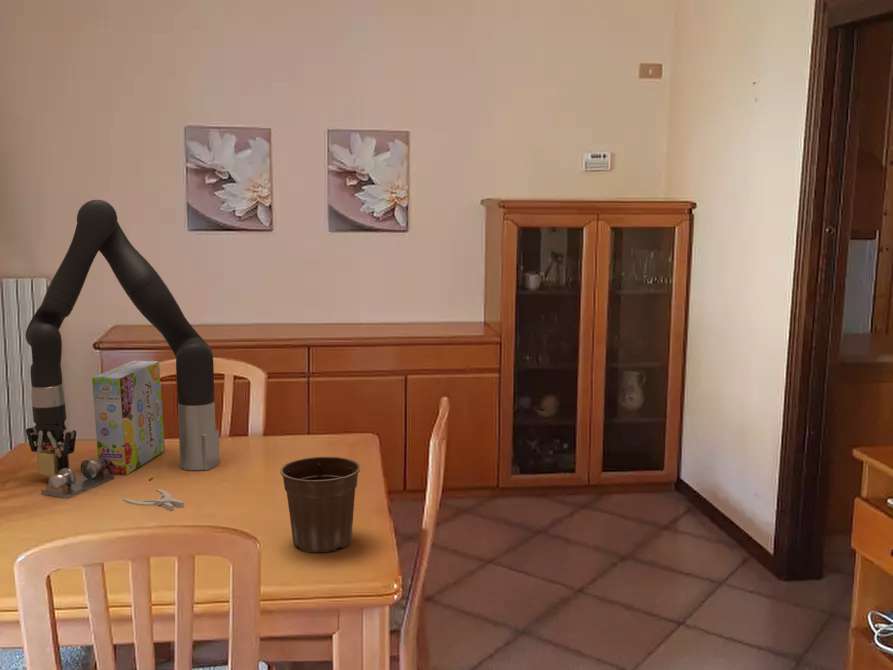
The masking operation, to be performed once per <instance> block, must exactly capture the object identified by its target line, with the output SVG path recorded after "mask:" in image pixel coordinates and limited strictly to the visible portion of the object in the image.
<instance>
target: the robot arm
mask: <svg viewBox="0 0 893 670" xmlns="http://www.w3.org/2000/svg"><path fill="white" fill-rule="evenodd" d="M117 214H118V213H117V212H116V209H115V208H114V206H113V205H112V204H111V203H110V202H108V201H106V200H103V199H92V200H89V201H86V202H85V203H84V204H82V205H81V206H80V208H79V209H78V212H77V215H76V226H75V231H74V234H73V237H72V240H71V242H70V245H69V246H68V247H69V248H68V250H67V252H66V254H65V255H64V258H63V260H62V261H61V263H60V265H59V267H58V268H57V270H56V272H55V274H54V276H53V278H52V280H51V282H50V284H49V286H48V288H47V291H46V293H45V295H44V297H43V299H42V302H41V305H39V307H38V308H37V310H36V312H35V313H34V315H33V316H32V317H31V320H30V322H29V323H28V326H27V328H26V331H25V340H26V342H27V344H28V345H29V346H30V348H31V359H32V363H31V365H30V371H29V372H30V384H31V391H30V392H31V394H30V395H31V396H30V398H31V409H32V421H33V423H34V424H35V425H34V426H31V427H28V428H26V429H25V433H26V437H27V440H28V444H29V447H30V448H29V449H30V451H31V452H32V453H33V452H35V453H37V452H39V451H42V450H45V449H48V448H45V444H48V443H50V444H52V446H53V448H54V449H56V452H57V455H58V467H59V471H60V470H61V469H63V468H68V458H67V456H68V457H69V455H70V454H73V453H74V452H75V449H76V448H75V447H76V438H77V431H76V430H75V429H74V430H73V429H72V430H69V429H67V426H66V424H65V422H66V420H67V409H66V397H65V396H66V394H65V389H64V384H63V373H62V366H61V363H62V353H63V352H62V349H63V339H62V335H61V332H60V328H61V326H62V324H63V322H64V321H65V319H66V318H67V317H69V316H70V315H71V313H72V311H73V309H74V307H75V305H76V303H77V301H78V298H79V296H80V294H81V292H82V289H83V287H84V285H85V282H86V279H87V276H88V274H89V272H90V269H91V267H92V265H93V263H94V261H95V259H96V256H97V255H98V252H100V253H101V255H102V256H103V257H104V259H105V261H106V262H107V263H108V265H109V266H110V269H111V270H112V272H113V274H114V276H115V278H116V279H117V281H118V283H119V284H120V286H121V288H122V289H123V291H124V292H125V294H126V295H127V297H128V298H129V300H130V301H131V302H132V304H133V305H134V306H135V307H136V309H137V310H138V311H139V312H140V314H142V316H143V317H144V318H145V319H146V320H147V321H148V322H149V323H150V324H151V325H152V326H153V327H154V328H156V330H157V331H158V332H159V333H160V334H161V335H162V337H163V338H164V339H165V340H166V343H167V344H168V346H169V347H170V349H171V351H172V353H173V354H174V356H175V369H176V370H175V371H176V375H175V376H176V394H177V395H176V396H177V406H178V407H177V410H178V415H177V416H178V436H179V437H178V439H179V441H178V442H179V462H180V463H179V466H180V469H183V470H186V471H208V470H210V469H212V468H214V467H216V466H219V465H220V464H221V463H220V461H221V460H220V433H219V432H220V431H219V429H217V428H216V408H215V407H216V406H215V374H214V373H215V372H214V371H215V367H214V353H213V350H212V348H211V346H210V344H208V343H207V342H206V341H205V340H204V339H203V338H202V336H201V335H200V334H199V333H198V332H197V331H196V329H194V327H193V326H192V324H191V323H190V322H189V321H188V320H187V318H186V316H185V315H184V312H183V311H182V309H181V308H180V306H179V304H178V302H177V301H176V299H175V297H174V295H173V294H172V292H171V291H170V289H169V287H168V286H167V284H166V283H165V282H164V280H163V279H162V277H161V276H160V275H159V273H158V272H157V271H156V269H155V268H154V267H153V265H151V264H150V263H149V261H148V260H147V259H146V257H144V256H143V255H142V254H141V253H140V252H139V251H138V250H137V249H136V248H135V247H134V245H133V244H132V243H131V242H130V240H129V239H128V237H127V235H126V234H125V232H124V231H123V229H122V227H121V225H120V223H119V222H118V215H117ZM57 443H59V444H57ZM61 448H62V450H63V451H61Z"/></svg>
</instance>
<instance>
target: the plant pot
mask: <svg viewBox="0 0 893 670" xmlns="http://www.w3.org/2000/svg"><path fill="white" fill-rule="evenodd" d="M360 471H361V465H360V463H358V462H357V461H355V460H353V459H350V458H346V457H339V456H312V457H307V458H305V457H304V458H302V459H297V460H296V459H295V460H292V461H290V462H287V463H286V464H283V466H281V468H280V475H281V476H282V479H283V485H284V486H283V487H284V490H285V492H286V496H287V504H288V512H289V519H290V528H291V535H292V537H291V538H292V543H293V545H294V547H295V548H298V549H300V551H303V552H310V553H314V552H318V553H320V552H322V553H327V552H328V553H330V552H335V551H336V550H337V549H338V548H341V549H344V548H345V547H347V546H349V545H350V544H351V542H352V540H353V539H352V538H353V523H354V522H353V521H354V508H355V498H356V497H355V495H356V489H357V487H358V476H359V473H360Z"/></svg>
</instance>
